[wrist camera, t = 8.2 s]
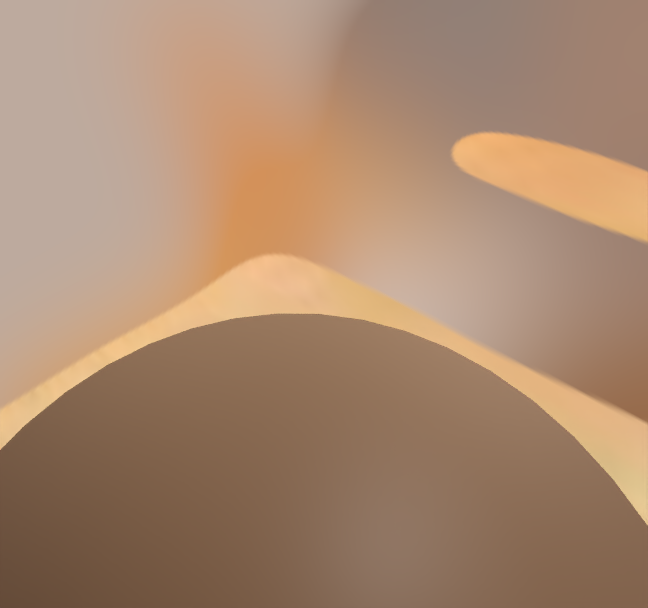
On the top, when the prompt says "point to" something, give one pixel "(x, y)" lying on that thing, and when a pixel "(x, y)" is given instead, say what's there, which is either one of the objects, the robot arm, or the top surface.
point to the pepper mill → (308, 482)
